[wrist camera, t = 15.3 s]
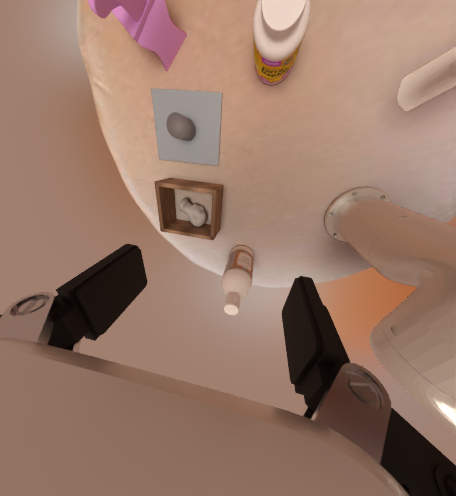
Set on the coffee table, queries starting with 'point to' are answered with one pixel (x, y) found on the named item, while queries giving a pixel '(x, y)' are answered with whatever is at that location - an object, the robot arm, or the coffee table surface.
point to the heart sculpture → (428, 81)
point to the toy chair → (145, 24)
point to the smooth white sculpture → (193, 212)
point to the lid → (188, 125)
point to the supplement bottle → (278, 36)
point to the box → (169, 212)
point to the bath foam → (237, 277)
